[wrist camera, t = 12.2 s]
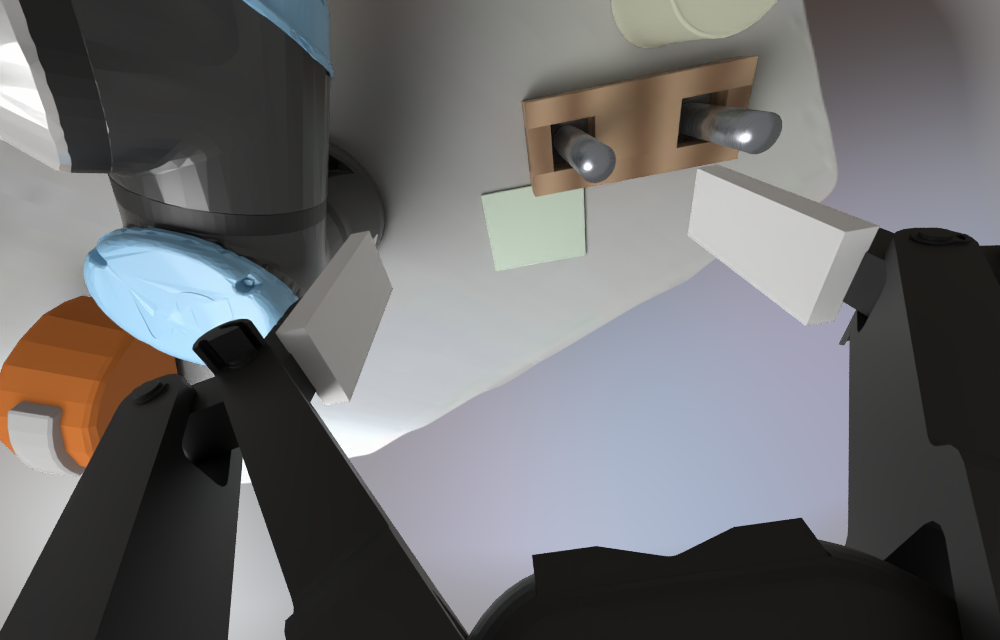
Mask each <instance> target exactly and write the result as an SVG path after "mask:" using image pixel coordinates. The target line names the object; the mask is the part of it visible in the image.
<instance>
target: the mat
mask: <svg viewBox="0 0 1000 640" xmlns="http://www.w3.org/2000/svg"><path fill="white" fill-rule="evenodd" d="M481 198H482V203H483V208H484V213H485V219H486V224H487V229H488V234H489V239H490V244H491V249H492V254H493V259H494V264H495V269H496V271H500V270H505V269H511V268H517V267H522V266H528V265H533V264H539V263H544V262H550V261H555V260H561V259H566V258H572V257H578V256H583V255H586V253H585V220H584V188H580V189H575V190H570V191H564V192H559V193H554V194H549V195H543V196H538V197H535V195H534V193H533V191H532V186H531V185H530V186H525V187H520V188H515V189H510V190H504V191H499V192H494V193H489V194H483V195H481Z"/></svg>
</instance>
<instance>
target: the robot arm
mask: <svg viewBox="0 0 1000 640" xmlns="http://www.w3.org/2000/svg"><path fill="white" fill-rule="evenodd" d="M333 76H334V70H333V67H332V65H331V63H330V35H329V10H328V4H327V1H326V0H0V140H3V141H5V142H7V143H9V144H11V145H12V146H14V147H16V148H18V149H19V150H21V151H23V152H25V153H26V154H28V155H30V156H32V157H33V158H35V159H37V160H39V161H41V162H42V163H44V164H46V165H48V166H49V167H51V168H53V169H55V170H56V171H59V172H67V173H108V176H109V178H110V182H111V185H112V188H113V192H114V195H115V198H116V202H117V205H118V209H119V212H120V215H121V218H122V222H123V228H121V229H117V230H115V231H112V232H110V233H107V234H105V235H104V236H102V237H101V238H100V239H99V241H98V244H97V246H96V247H95V248H94V249H93V250H92V251H90V252H89V253H88V255H87V256H86V259H85V262H84V267H83V273H84V280H85V283H86V286H87V288H88V290H89V292H90V294H91V296H92V297H93V299H94V300H95V301H96V303H97V305H98V306H99V307H100V308H101V309H102V311H103V312H104V313H105V314H106V315H107V316H108V317H109V318H110V319H112V320H113V321H114V322H115V323H116V324H117V325H118V326H120V327H121V328H122V329H124V330H125V331H127V332H128V333H129V334H131V335H132V336H134V337H135V338H137V339H138V340H141V341H143V342H145V343H147V344H149V345H151V346H152V347H154V348H156V349H157V350H159V351H162V352H164V353H166V354H169V355H171V356H174V357H177V358H179V359H183V360H186V361H189V362H193V363H197V364H201V365H206V366H207V367H208V368H209V369H210V370H211V371H212V372H213V373H214V375H215V377H213V378H210V379H207V380H205V381H202V382H199V383H196V384H194V385H190V384H189V383H188V382H187V381H186V380H185V379H184V378H183V377H182V376H181V375H179V374H168V375H164V376H161V377H158V378H156V379H154V380H151V381H147V382H145V383H143V384H141V386H138V387H137V388H135V389H134V390H133V391H132V392H131V393H130V394H129V395H128V396H127V397H125V398H124V399H123V401H122V402H121V403H120V405H119V406H118V408H117V409H116V411H115V413H114V415H113V417H112V419H111V421H110V423H109V425H108V427H107V429H106V430H105V432H104V434H103V436H102V438H101V440H100V442H99V444H98V446H97V448H96V450H95V451H94V453H93V455H92V457H91V459H90V461H89V463H88V465H87V467H86V469H85V471H84V472H83V475H82V476H81V478H80V480H79V482H78V484H77V486H76V488H75V490H74V492H73V494H72V495H71V497H70V499H69V501H68V503H67V505H66V507H65V509H64V511H63V513H62V514H61V516H60V518H59V520H58V522H57V524H56V526H55V528H54V530H53V532H52V534H51V535H50V537H49V539H48V541H47V543H46V545H45V547H44V549H43V551H42V553H41V555H40V556H39V558H38V560H37V562H36V564H35V566H34V568H33V570H32V572H31V574H30V576H29V577H28V579H27V581H26V583H25V585H24V587H23V589H22V591H21V593H20V595H19V597H18V599H17V600H16V602H15V604H14V606H13V608H12V610H11V612H10V614H9V616H8V618H7V620H6V621H5V623H4V625H3V627H2V629H1V631H0V640H228V629H229V618H230V606H231V593H232V580H233V569H234V557H235V544H236V532H237V520H238V507H239V496H240V483H241V471H242V459H244V462H245V465H246V468H247V471H248V473H249V476H250V479H251V482H252V485H253V488H254V491H255V494H256V496H257V500H258V502H259V505H260V508H261V511H262V514H263V517H264V519H265V523H266V526H267V528H268V531H269V534H270V537H271V540H272V543H273V546H274V549H275V552H276V555H277V558H278V560H279V563H280V566H281V569H282V572H283V575H284V578H285V581H286V584H287V587H288V589H289V592H290V595H291V598H292V602H293V606H294V612H293V614H292V615H291V616H290V617H289V618H288V619H287V620H286V621H285V631H284V632H285V637H286V640H1000V245H995V246H979V244H978V242H977V241H975V240H974V239H973V238H972V237H970V236H968V235H966V234H962V233H958V232H954V231H950V230H947V229H942V228H910V229H903V230H900V231H897V232H896V233H892V232H890V231H887V230H884V229H882V228H879V227H880V226H878V225H875V224H873V223H870V222H868V221H865V220H862V219H860V218H857V217H854V216H851V215H849V214H847V213H844V212H841V211H838V210H836V209H833V208H831V207H828V206H825V205H823V204H820V203H818V202H815V201H812V200H810V199H807V198H804V197H802V196H799V195H796V194H794V193H791V192H788V191H786V190H783V189H781V188H778V187H775V186H773V185H770V184H767V183H765V182H762V181H759V180H757V179H754V178H752V177H749V176H746V175H744V174H741V173H738V172H736V171H733V170H730V169H728V168H725V167H722V166H720V165H713V166H708V167H703V168H698V169H697V176H696V183H695V189H694V196H693V203H692V210H691V216H690V223H689V230H688V236H689V237H690V238H692V239H693V240H694V241H695V242H697V243H698V244H699V245H701V246H702V247H703V248H705V249H706V250H707V251H708V252H710V253H711V254H712V255H714V256H715V257H716V258H718V259H719V260H721V261H722V262H723V263H724V264H725V265H727V266H728V267H729V268H731V269H732V270H733V271H735V272H736V273H737V274H739V275H740V276H741V277H743V278H744V279H745V280H747V281H748V282H749V283H750V284H752V285H753V286H754V287H756V288H757V289H758V290H759V291H761V292H762V293H763V294H765V295H766V296H767V297H769V298H770V299H771V300H772V301H774V302H775V303H777V304H778V305H779V306H781V307H782V308H783V309H784V310H786V311H787V312H788V313H789V314H791V315H792V316H794V317H795V318H796V319H797V320H799V321H800V322H801V323H803V324H804V325H805V326H810V325H816V324H822V323H828V322H833V321H835V319H836V317H837V315H838V313H839V311H840V308H841V307H842V304H843V302H845V303H846V304H848V305H850V306H851V307H853V308H855V309H856V311H855V313H854V315H853V317H852V319H851V321H850V323H849V325H848V327H847V329H846V331H845V333H844V335H843V337H842V339H841V341H840V343H839V344H840V345H845V343H846V342H847V341H849V340H850V362H849V365H850V366H849V368H850V369H849V370H850V371H849V497H848V506H849V507H848V509H849V510H848V536H847V541H846V545H845V546H842V545H839V544H835V543H831V542H827V541H822V540H818V539H817V538H816V537H815V535H814V534H813V533H812V531H811V530H810V528H809V527H808V526H807V524H806V523H805V522H804V520H803V519H802V518H797V519H789V520H782V521H775V522H768V523H761V524H754V525H746V526H739V527H733V528H731V529H729V530H727V531H725V532H723V533H721V534H719V535H717V536H715V537H713V538H711V539H709V540H707V541H705V542H703V543H701V544H699V545H697V546H695V547H693V548H691V549H689V550H687V551H685V552H683V553H681V554H678V555H676V556H669V557H668V556H660V555H653V554H646V553H639V552H632V551H625V550H619V549H612V548H604V547H598V546H594V547H588V548H581V549H573V550H565V551H558V552H551V553H544V554H536V555H532V558H533V567H534V574H532V575H530V576H528V577H526V578H524V579H522V580H521V581H519V582H518V583H516V584H515V585H513V586H512V587H511V588H509V589H508V590H506V591H505V592H504V593H503V594H502V595H501V596H500V597H499V598H498V599H496V600H495V601H494V602H493V604H492V605H491V606H490V607H489V609H487V611H486V612H485V613H484V614H483V615H482V617H481V618H480V620H479V621H478V623H477V624H476V625H475V627H474V629H473V630H472V632H471V633H470V635H469V634H468V633H467V632H466V630H465V629H464V627H463V626H462V624H461V623H460V621H459V620H458V618H457V617H456V616H455V614H454V613H453V611H452V610H451V609H450V607H449V606H448V604H447V603H446V601H445V600H444V598H443V597H442V596H441V594H440V593H439V591H438V590H437V588H436V587H435V586H434V584H433V582H432V581H431V580H430V578H429V577H428V575H427V574H426V572H425V571H424V569H423V568H422V566H421V565H420V563H419V562H418V560H417V559H416V557H415V556H414V554H413V553H412V552H411V550H410V549H409V547H408V546H407V544H406V543H405V541H404V540H403V538H402V537H401V535H400V534H399V532H398V531H397V529H396V528H395V527H394V525H393V524H392V522H391V521H390V519H389V518H388V516H387V515H386V513H385V512H384V510H383V509H382V507H381V506H380V504H379V503H378V501H377V500H376V499H375V497H374V496H373V494H372V493H371V491H370V490H369V488H368V487H367V485H366V484H365V482H364V481H363V479H362V478H361V476H360V475H359V473H358V472H357V471H356V469H355V468H354V466H353V465H352V463H351V462H350V460H349V459H348V457H347V456H346V454H345V453H344V451H343V450H342V448H341V447H340V445H339V444H338V442H337V441H336V440H335V438H334V437H333V435H332V434H331V432H330V431H329V429H328V428H327V426H326V425H325V423H324V422H323V420H322V419H321V417H320V416H319V414H318V413H317V412H316V410H315V409H314V407H313V406H312V405H311V403H310V402H311V400H312V398H313V396H314V394H315V392H316V393H317V395H318V396H319V397H320V399H321V400H322V402H323V403H324V405H330V404H336V403H342V402H349V401H350V399H351V397H352V394H353V392H354V389H355V386H356V384H357V381H358V379H359V376H360V373H361V371H362V368H363V365H364V363H365V360H366V358H367V355H368V352H369V350H370V347H371V344H372V342H373V339H374V337H375V334H376V331H377V329H378V326H379V323H380V321H381V318H382V316H383V313H384V310H385V308H386V305H387V302H388V300H389V297H390V295H391V292H392V289H393V288H392V286H391V283H390V281H389V278H388V276H387V273H386V271H385V268H384V266H383V263H382V261H381V258H380V256H379V253H378V251H377V248H376V247H377V245H378V244H379V242H380V240H381V237H382V234H383V230H384V223H385V215H384V207H383V203H382V200H381V197H380V194H379V192H378V190H377V187H376V186H375V184H374V182H373V180H372V179H371V177H370V176H369V175H368V173H367V172H366V171H365V170H364V169H363V167H362V166H361V165H360V164H359V163H358V162H357V161H355V160H354V159H353V158H352V157H351V156H349V155H348V154H347V153H345V152H344V151H342V150H341V149H339V148H337V147H335V146H333V145H331V144H329V117H330V78H333Z"/></svg>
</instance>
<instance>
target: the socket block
mask: <svg viewBox="0 0 1000 640" xmlns="http://www.w3.org/2000/svg"><path fill="white" fill-rule="evenodd" d="M757 60H758V56H748V57H736V58H731V59H727V60H722V61H717V62H712V63H707V64H702V65H697V66H692V67H687V68H682V69H677V70H673V71H668V72H663V73H658V74H653V75H648V76H643V77H638V78H633V79H628V80H624V81H619V82H614V83H609V84H604V85H599V86H594V87H589V88H584V89H579V90H574V91H570V92H565V93H560V94H555V95H550V96H545V97H540V98H535V99H530V100H525V101H522V108H523V117H524V126H525V135H526V143H527V152H528V161H529V170H530V179H531V186H532V191H533V193H534V195H535V197H538V196H543V195H549V194H554V193H559V192H564V191H570V190H575V189H580V188H586V187H591V186H596V185H601V184H607V183H612V182H617V181H622V180H628V179H633V178H638V177H644V176H649V175H654V174H659V173H665V172H670V171H675V170H680V169H686V168H691V167H696V166H702V165H707V164H712V163H717V162H723V161H728V160H733V159H737V157H738V152H739V150H736V149H733V148H730V147H726V146H723V145H719V144H716V143H712V142H709V141H705V140H702V139H698V138H691V139H685V140H680V141H677V139H678V130H679V122H680V113H681V104H682V98H687V97H692V96H697V95H702V94H707V93H711V97H710V104H712V105H720V106H727V107H735V108H743V109H748V104H749V99H750V94H751V89H752V84H753V80H754V75H755V70H756V65H757ZM587 117H588V134H589V135H590V136H592V137H594V138H596V139H597V140H599V141H601V142H603V143H604V144H606V145H608V146H609V147H611V148H612V150H613V151H614V153H615V156H616V164H615V168H614V170H613V172H612V174H611V175H610V176H609V177H608V178H607V179H606V180H604V181H602V182H599V183H590V182H588V181H586V180H585V179H584V178H583V177H582V176H581V175H580V174H579V173H578V172H577V171H576V170H575V169H574V168H573V167H572V166H571V165H570V164H569V163H568V162H567V163H562V164H556V165H553V155H552V141H551V128H550V125H552V124H557V123H562V122H567V121H572V120H577V119H582V118H587Z"/></svg>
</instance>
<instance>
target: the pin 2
mask: <svg viewBox="0 0 1000 640" xmlns="http://www.w3.org/2000/svg"><path fill="white" fill-rule="evenodd" d="M781 129H782V120H781V118H780V116H779V115H778V114H776V113H773V112H766V111H758V110H751V109H743V108H735V107H727V106H720V105H712V104H704V103H697V102H689V103H687V104H685V105H683V106H682V107H681V113H680V122H679V130H678V132H679V133H681V134H685V135H688V136H691V137H695V138H698V139H702V140H705V141H709V142H712V143H716V144H719V145H723V146H726V147H730V148H733V149H736V150H740V151H743V152H747V153H750V154H759V153H762V152H764V151H766V150H767V149H769V148H770V147H771V146H772V145H773V144H774V143H775V142H776V140H777V139H778V137H779V135H780V133H781Z"/></svg>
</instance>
